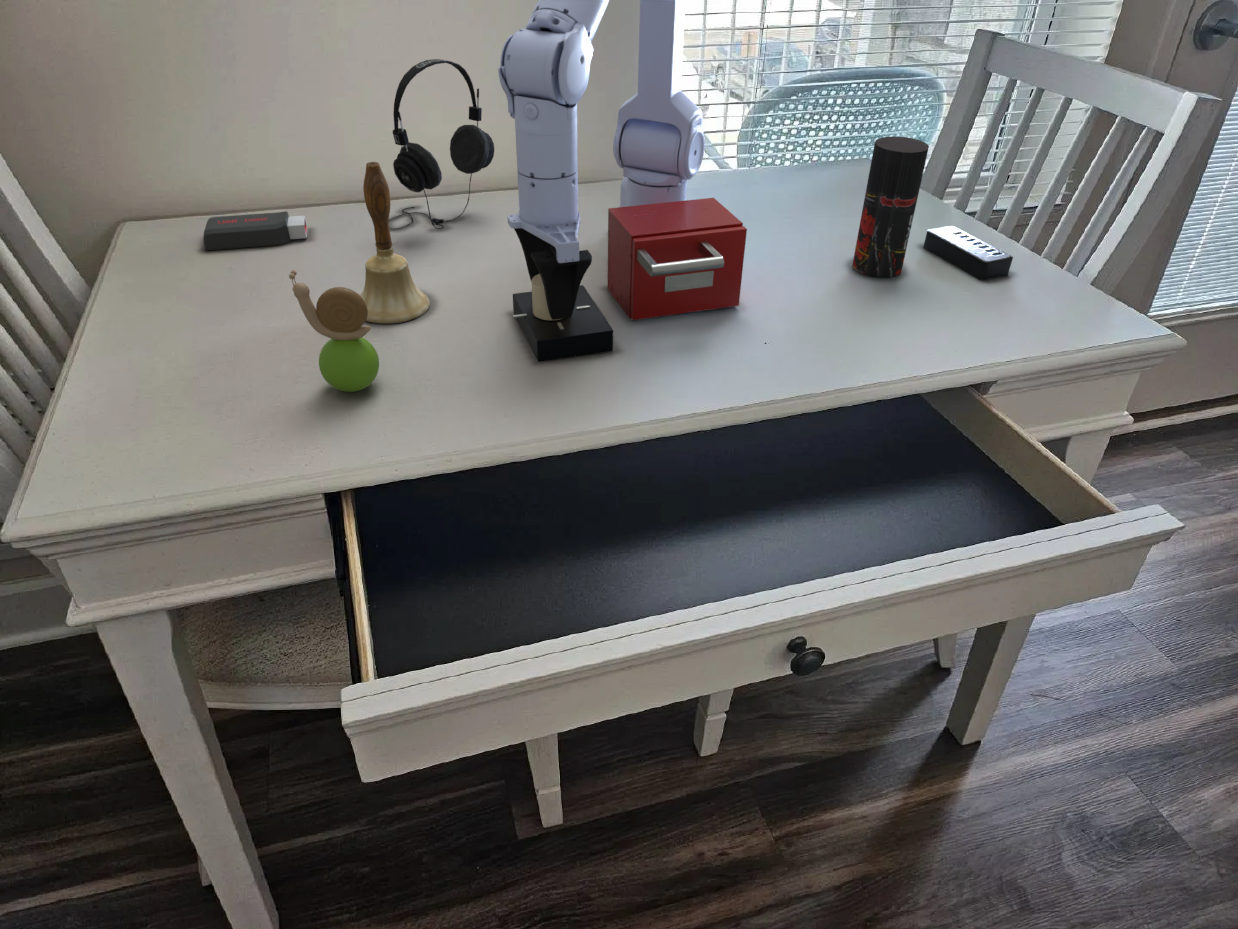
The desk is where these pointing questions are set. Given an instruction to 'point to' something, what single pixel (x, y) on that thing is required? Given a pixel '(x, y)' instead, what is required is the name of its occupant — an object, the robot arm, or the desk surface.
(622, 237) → the cabinet
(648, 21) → the robot arm
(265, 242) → the usb drive
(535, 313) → the lock dial
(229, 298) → the desk surface
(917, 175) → the deodorant
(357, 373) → the snail figurine
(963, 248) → the multiport hub
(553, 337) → the panel
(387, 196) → the hand bell
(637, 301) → the red drawer
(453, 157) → the headphones
